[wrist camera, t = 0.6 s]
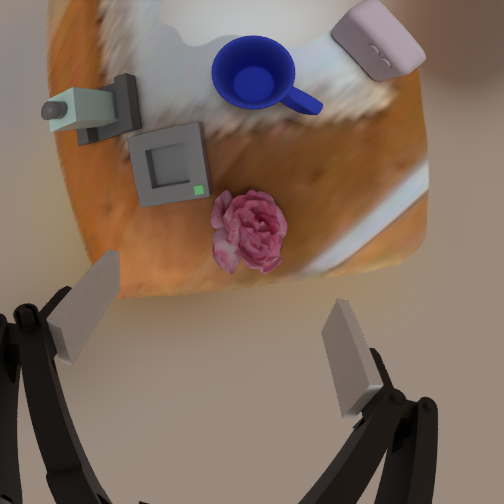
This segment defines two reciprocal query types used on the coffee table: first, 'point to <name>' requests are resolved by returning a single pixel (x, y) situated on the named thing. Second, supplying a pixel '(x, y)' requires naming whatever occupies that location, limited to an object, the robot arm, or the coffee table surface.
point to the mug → (259, 76)
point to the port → (170, 165)
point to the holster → (126, 112)
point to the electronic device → (378, 41)
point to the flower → (247, 231)
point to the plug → (80, 109)
